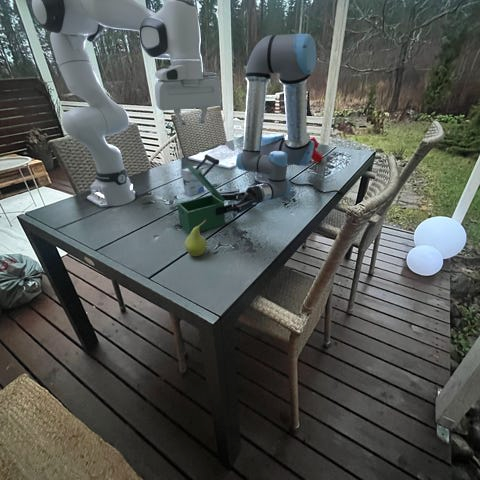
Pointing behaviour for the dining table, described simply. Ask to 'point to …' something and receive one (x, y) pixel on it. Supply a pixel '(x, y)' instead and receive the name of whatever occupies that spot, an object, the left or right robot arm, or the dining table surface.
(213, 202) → the chest
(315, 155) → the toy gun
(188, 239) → the fruit
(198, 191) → the ink box
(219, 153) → the relief map
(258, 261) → the dining table surface
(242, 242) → the dining table surface
